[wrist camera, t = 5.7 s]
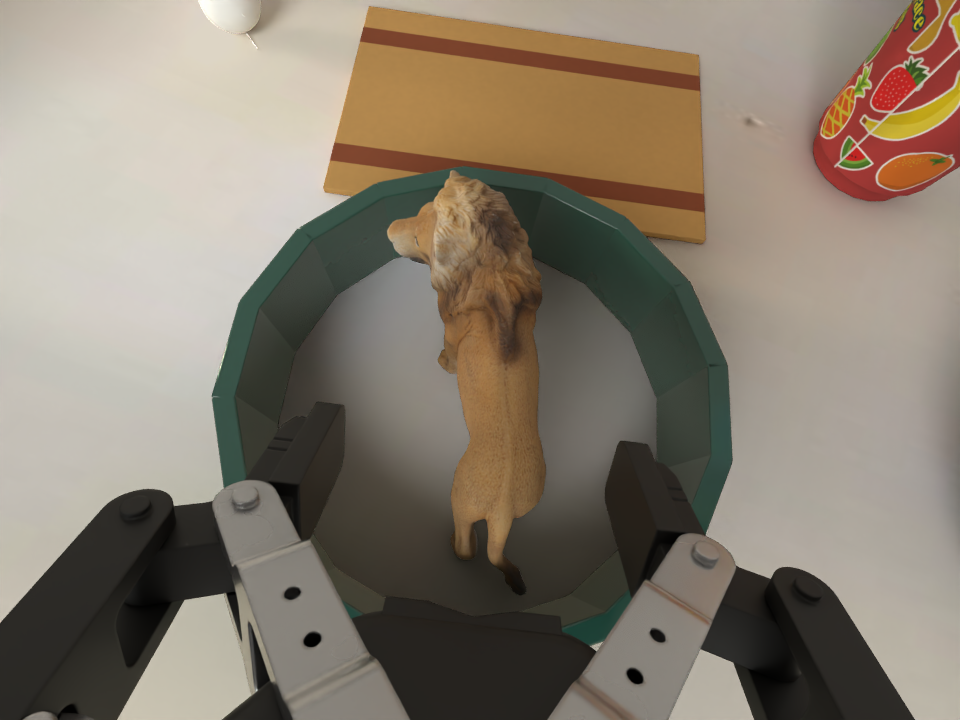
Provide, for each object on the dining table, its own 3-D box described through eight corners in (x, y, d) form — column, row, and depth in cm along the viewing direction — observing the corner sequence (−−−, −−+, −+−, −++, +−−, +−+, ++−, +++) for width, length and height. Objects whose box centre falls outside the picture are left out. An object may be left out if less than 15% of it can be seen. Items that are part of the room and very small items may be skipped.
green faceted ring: (211, 611, 20) (140, 635, 15) (313, 211, 26) (285, 140, 22) (676, 663, 21) (745, 702, 16) (670, 259, 27) (720, 200, 22)
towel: (324, 192, 27) (322, 187, 26) (369, 12, 31) (368, 5, 30) (702, 244, 27) (706, 240, 27) (695, 60, 31) (699, 54, 31)
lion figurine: (396, 287, 25) (373, 161, 17) (501, 268, 26) (530, 139, 17) (460, 608, 21) (473, 660, 12) (585, 575, 22) (678, 602, 13)
